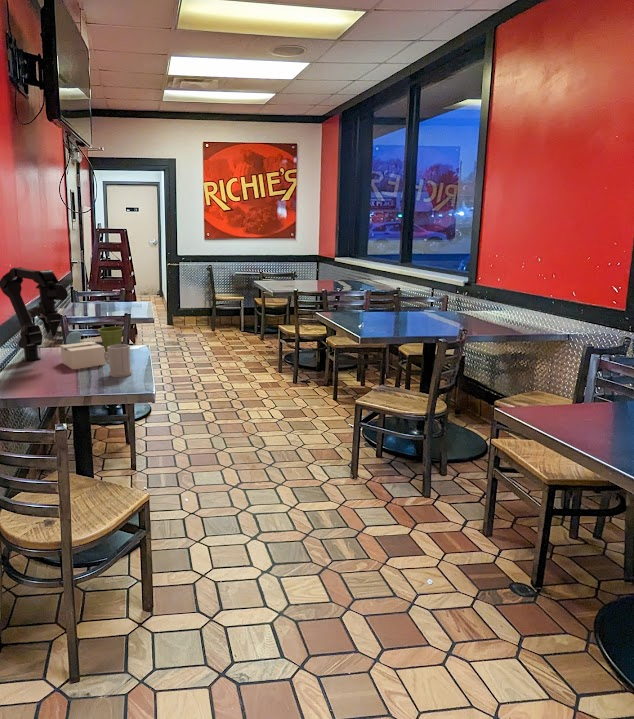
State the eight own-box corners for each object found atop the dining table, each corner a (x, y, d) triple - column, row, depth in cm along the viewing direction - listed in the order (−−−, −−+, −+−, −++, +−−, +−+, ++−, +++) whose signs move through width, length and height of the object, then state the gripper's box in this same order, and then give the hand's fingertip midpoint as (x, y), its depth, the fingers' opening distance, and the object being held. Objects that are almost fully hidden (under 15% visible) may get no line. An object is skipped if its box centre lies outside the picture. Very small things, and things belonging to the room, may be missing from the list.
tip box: (62, 362, 285) (60, 345, 284) (93, 358, 293) (92, 341, 292) (72, 369, 273) (71, 351, 271) (105, 364, 281) (103, 346, 279)
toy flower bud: (93, 332, 314) (67, 332, 308) (93, 350, 315) (67, 350, 310) (90, 330, 320) (65, 330, 314) (91, 347, 322) (65, 348, 316)
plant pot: (102, 349, 313) (100, 327, 310) (127, 348, 314) (125, 326, 311) (97, 354, 301) (95, 331, 299) (123, 354, 302) (121, 330, 300)
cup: (104, 378, 257) (102, 349, 254) (105, 373, 265) (103, 345, 263) (131, 376, 260) (129, 347, 257) (132, 371, 268) (129, 343, 265)
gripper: (22, 298, 281) (26, 333, 285) (32, 303, 267) (37, 339, 270) (48, 296, 288) (52, 330, 291) (60, 300, 273) (64, 336, 277)
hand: (50, 334), depth 282 cm, fingers open, 9 cm apart
